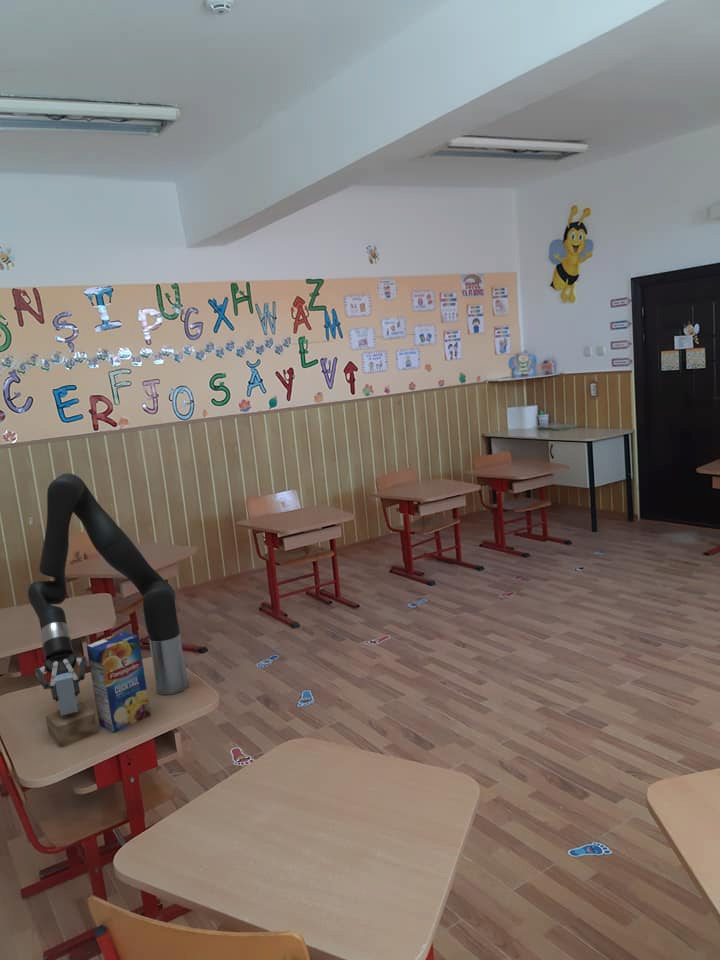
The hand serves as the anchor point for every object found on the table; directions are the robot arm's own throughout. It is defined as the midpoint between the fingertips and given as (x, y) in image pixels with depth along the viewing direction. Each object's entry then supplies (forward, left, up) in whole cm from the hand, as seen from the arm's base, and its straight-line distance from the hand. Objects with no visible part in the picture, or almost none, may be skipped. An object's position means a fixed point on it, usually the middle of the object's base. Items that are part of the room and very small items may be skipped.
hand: (66, 697), depth 203 cm
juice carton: (-14, -1, -12) cm, 18 cm away
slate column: (0, -2, -5) cm, 5 cm away
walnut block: (0, -2, -12) cm, 12 cm away
